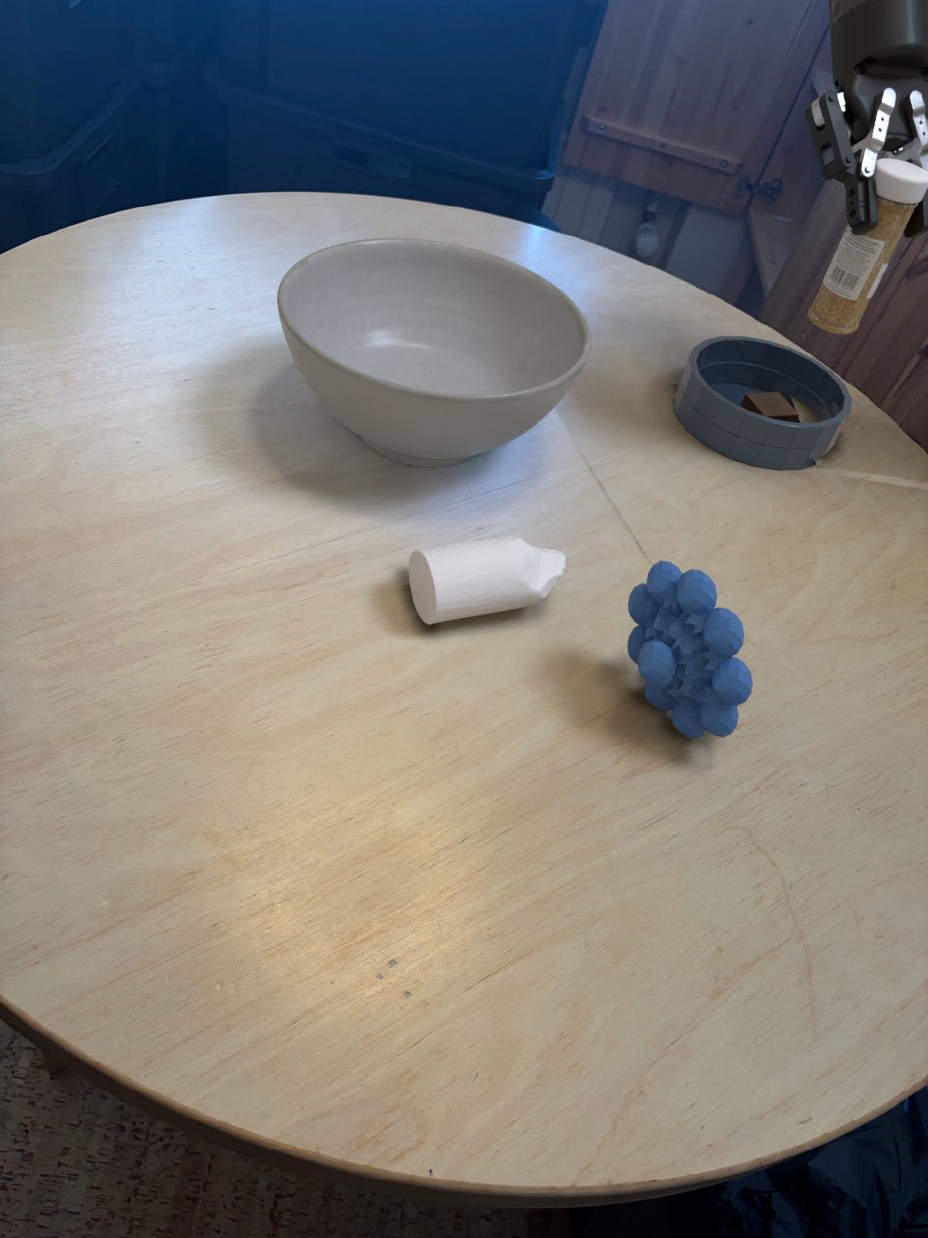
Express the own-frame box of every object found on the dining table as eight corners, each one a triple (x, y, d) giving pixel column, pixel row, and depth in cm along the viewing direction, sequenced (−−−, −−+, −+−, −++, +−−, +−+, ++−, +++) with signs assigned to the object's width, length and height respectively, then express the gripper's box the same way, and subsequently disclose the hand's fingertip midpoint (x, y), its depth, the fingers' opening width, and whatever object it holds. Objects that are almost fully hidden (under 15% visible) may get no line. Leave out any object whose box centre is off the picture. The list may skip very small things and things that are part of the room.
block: (763, 424, 98) (778, 391, 96) (783, 447, 96) (799, 414, 93) (730, 426, 97) (745, 392, 94) (750, 450, 95) (765, 416, 92)
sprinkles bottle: (866, 333, 84) (945, 178, 74) (828, 338, 82) (904, 180, 72) (831, 307, 86) (904, 154, 77) (794, 311, 85) (864, 155, 75)
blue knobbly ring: (565, 669, 70) (608, 548, 62) (633, 642, 73) (683, 523, 65) (667, 788, 64) (730, 671, 56) (737, 752, 67) (806, 636, 59)
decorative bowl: (235, 368, 91) (233, 245, 83) (478, 339, 102) (499, 229, 94) (340, 546, 76) (352, 418, 67) (613, 490, 87) (652, 374, 78)
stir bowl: (808, 394, 106) (829, 350, 102) (845, 485, 94) (871, 438, 90) (664, 370, 104) (680, 324, 100) (682, 459, 92) (701, 411, 89)
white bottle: (572, 616, 74) (591, 563, 70) (429, 640, 70) (440, 585, 66) (542, 565, 78) (557, 512, 74) (404, 585, 74) (412, 529, 70)
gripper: (837, -24, 70) (850, 211, 71) (989, -3, 74) (1000, 219, 75) (775, 33, 77) (787, 246, 78) (917, 50, 81) (927, 252, 82)
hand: (891, 232), depth 77 cm, fingers closed on sprinkles bottle, 4 cm apart
